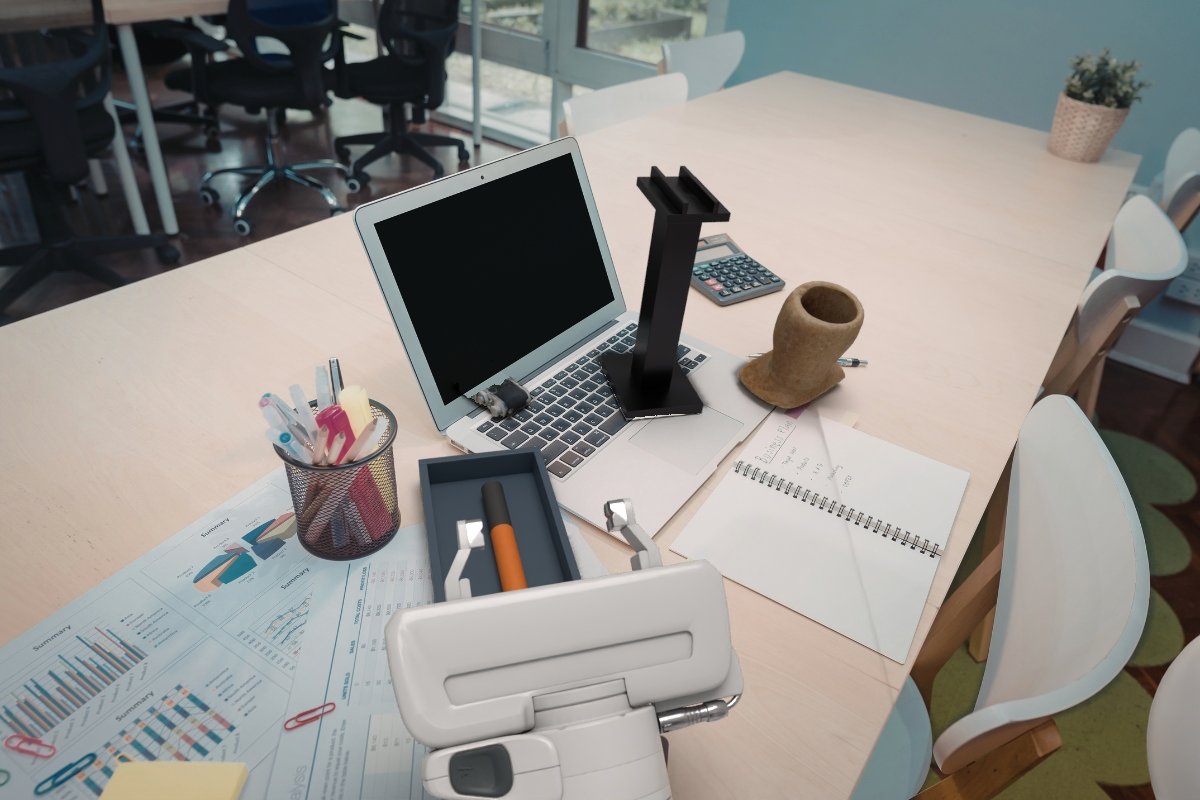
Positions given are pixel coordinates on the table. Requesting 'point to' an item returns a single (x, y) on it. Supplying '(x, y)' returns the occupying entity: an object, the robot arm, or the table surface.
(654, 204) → the headphone stand
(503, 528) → the orange marker pen
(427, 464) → the tray
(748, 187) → the table surface
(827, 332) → the stone cup
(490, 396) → the camera
